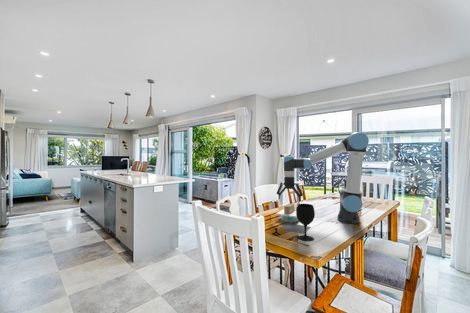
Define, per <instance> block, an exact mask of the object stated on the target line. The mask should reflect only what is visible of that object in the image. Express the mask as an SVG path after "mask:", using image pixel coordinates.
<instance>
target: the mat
mask: <svg viewBox="0 0 470 313" xmlns="http://www.w3.org/2000/svg"><path fill="white" fill-rule="evenodd" d="M311 228H312V226H309V225H307V228H306V233H307V232H308V231H309V230H310V229H311ZM278 230H281V231H286V232H293V233H297V234H300V235H301V234H302V235H304V234H305V229H304V225H303V224H302V225H301V224H297V223H292V222H286V223H285V224H283V225H282V226H280V227H279V228H278Z"/></svg>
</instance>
